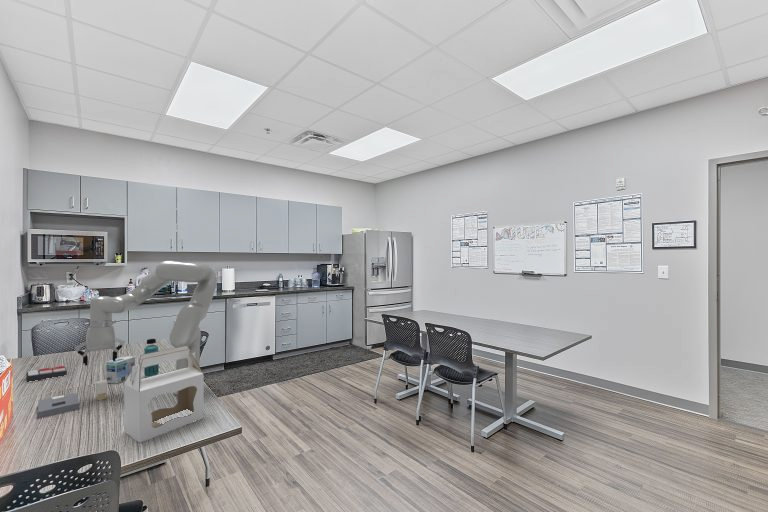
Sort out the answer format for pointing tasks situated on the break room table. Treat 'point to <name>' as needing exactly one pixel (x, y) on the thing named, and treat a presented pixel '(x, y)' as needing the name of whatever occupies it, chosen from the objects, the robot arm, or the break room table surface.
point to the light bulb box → (119, 369)
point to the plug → (101, 389)
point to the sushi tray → (45, 373)
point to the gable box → (145, 389)
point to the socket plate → (57, 405)
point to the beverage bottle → (149, 349)
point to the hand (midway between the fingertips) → (100, 362)
